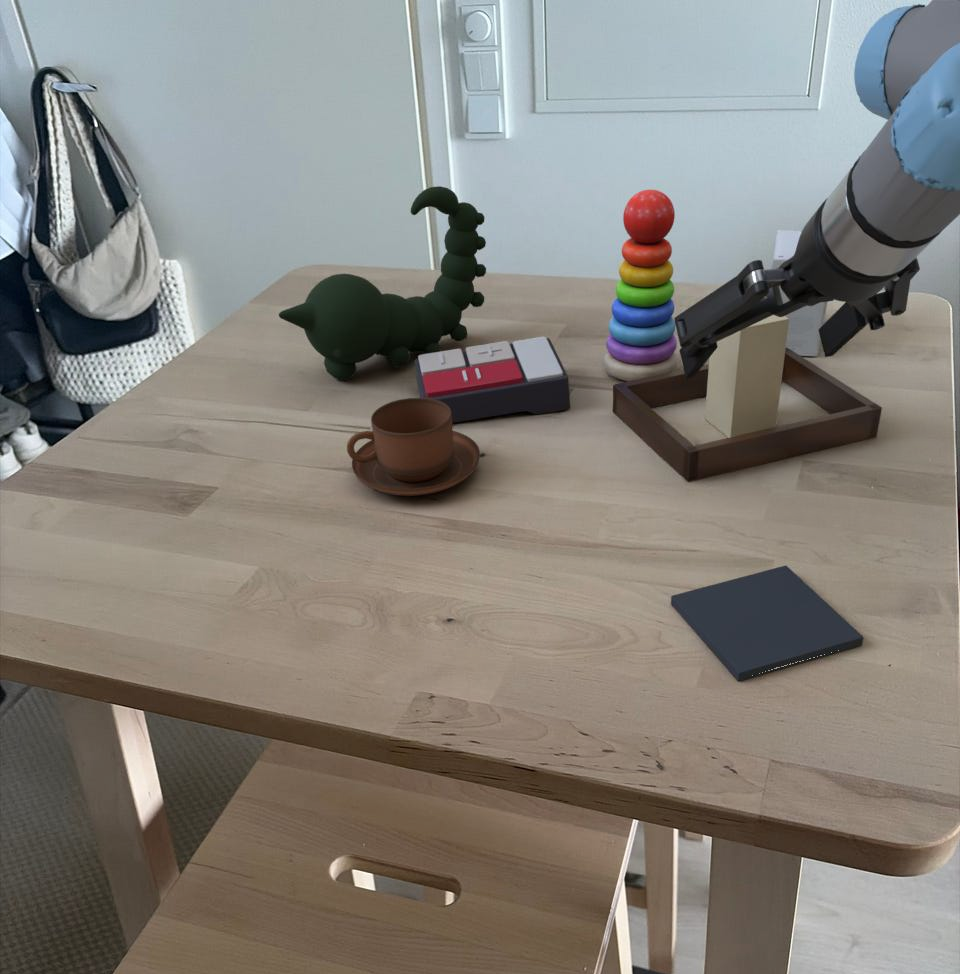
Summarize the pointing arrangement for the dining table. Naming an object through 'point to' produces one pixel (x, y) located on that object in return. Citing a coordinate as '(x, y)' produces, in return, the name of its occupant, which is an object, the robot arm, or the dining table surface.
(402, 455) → the cup and saucer
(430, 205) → the toy figurine
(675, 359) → the stacking toy
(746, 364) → the block
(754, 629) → the mat
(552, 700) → the dining table surface
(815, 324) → the cosmetics box
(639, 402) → the wooden frame
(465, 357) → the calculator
